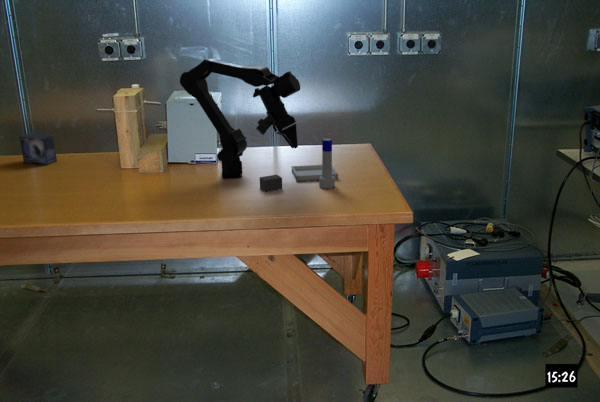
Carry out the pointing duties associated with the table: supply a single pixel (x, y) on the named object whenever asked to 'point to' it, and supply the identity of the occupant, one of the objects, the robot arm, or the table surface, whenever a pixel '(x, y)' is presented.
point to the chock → (270, 183)
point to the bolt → (327, 166)
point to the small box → (38, 149)
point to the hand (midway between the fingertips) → (294, 147)
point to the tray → (310, 172)
